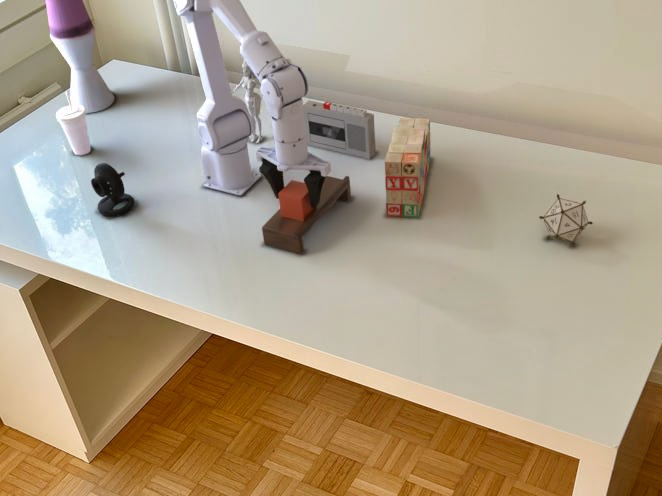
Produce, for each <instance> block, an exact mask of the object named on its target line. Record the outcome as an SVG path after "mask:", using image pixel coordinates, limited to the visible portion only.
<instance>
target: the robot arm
mask: <svg viewBox="0 0 662 496" xmlns="http://www.w3.org/2000/svg"><path fill="white" fill-rule="evenodd" d="M172 1H173V5H174V8H175V10H176V14H177V16H178V17H184V21H185V25H186V29H187V33H188V36H189V39H190V44H191V47H192V51H193V55H194V58H195V62H196V67H197V69H198V73H199V78H200V80H201V81H200V82H201V85H202V88H203V92H204V96H205V101H204V102H203V104H202V105H201V107H200V108H199V109H198V111H197V112H196V119H197V126H198V128H197V130H198V136H199V138H200V141H201V143H202V146H201V150H200V161H201V166H202V171H203V176H204V181H205V182H204V183H203V187H205V188H208V189H212V190H216V191H220V192H223V193H228V194H232V195H235V196H243V195H244V194H245V193H246V192H247V191H248V190H249V189H250V188H251V187H252V186H253V185H254V184H255V183H256V182H258V181H259V179H260V178H261V177H264V179H265V180H266V181H267V183H268V184H269V186H270V188H271V190H272V192H273V196H274V197H275V199H277V200H279V196H278V193H279V192H280V191H281V190H282V189H283V188H284V187H285V182H284V173H286V172H289V171H308V172H309V173H308V174H307V175H306V176H305V177H304V178H303V183H305V184H306V186H307V189H308V192H309V199H310V205H311V207H313V208H315V207H316V206H317V205H318V204H319V202H320V195H321V190H322V186H323V183H324V181H325V178H326V176H329V174H330V173H332V166H331V165H332V164H331V162H330V161H328V160H325V159H322V158H320V157H319V156H317V155H315V154H313V153H311V152H309V148H308V144H307V138H306V128H305V118H304V109H303V105H304V99H303V98H304V97H306V96H307V95H308V93H309V82H308V79H307V76H306V73H305V72H304V71H303V69H302V66H300V65H299V64H298V63H296V62H293V61H292V60H291V59H290V58H285V56H284V55H283V53H282V52H281V50H280V49H279V47H278V46H277V45H276V43H275V42H274V41H273V39H272V38H271V37H270V35H269V34H268V32H266V31H264V30H263V31H262V30H258V28H256V26H255V24H254V22H253V20H252V18H251V17H250V16H249V13H248V12H247V11H246V9H245V7H244V5H243V4H242V2H241V0H172ZM213 13H214V14H215V15H216V16H217V17H218V18H219V19H220V21H221V22H222V23H223V24H224V25H225V27H226V28H227V29H228V30H229V32H231V34H232V35H233V36H234V37H235V38H236V40H237V41H238V42H239V43H240V48H239V54H240V56H241V57H242V58H243V61H244V60H245V61H246V63H247V64H248V65H249V67H250V68H251V70H252V71H253V73H254V74H255V75H256V77H257V79H258V80H259V82H260V84H261V86H260V88H259V90H260V93H261V96H262V99H263V100H264V103H265V105H266V107H265V108H266V111H267V113H268V115H270V118H271V127H272V133H273V141H274V147H265V146H260V147H259V148H258V149H257V150H256V151H255V157H256V161H257V162H261V165H260V166H259V167H258V171H259V173H258V172H257V173H256V172H252V168H251V167H252V166H251V161H250V154H249V149H248V143H249V142H251V139H250V137H251V136H253V134H252V133H253V129H254V124H253V120H252V117H251V115H250V114H249V112H248V109H247V106H246V103H245V102H244V100H243V99H242V98H241V97H238V96H236V95H234V94H232V93H231V92H232V89H231V84H230V81H229V77H228V73H227V72H228V71H227V69H226V66H225V65H226V64H225V60H224V57H223V52H222V49H221V45H220V41H219V36H218V32H217V29H216V23H215V21H214V16H213Z"/></svg>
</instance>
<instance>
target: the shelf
mask: <svg viewBox="0 0 662 496" xmlns="http://www.w3.org/2000/svg"><path fill="white" fill-rule="evenodd" d="M351 191H352V190H351V178H350V176H349V175H346V176H344V177H343V178H339V177H333V176H329V175H327V176H326V178H325V181H324V183H323V186H322V190H321V195H320V202H319V204H318V205H317V208H316V209H315V210H314V211H313V212H312V213H311V214H310V215H309V217H308V218H307V219H306V220H305V221H304V222H302V221H298V220H295V219H291V218H287V217H283V216H281V211H280V208H279V209H278V210H277V211H276V212H275V213H274V214H273V215H272V216H271V217H270V218H269V219H268V220H267V221H266V222H265V223H264V224H263V225H262V226H261V231H262V237H263V245H265V246H267V247H271V248H276V249H280V250H283V251H287V252H290V253H293V254H298V255H302V254H303V253H304V252H305V250H304V249H305V248H304V240H303V239H304V236H306V234H308V233H309V231H310V230H311V229H312V228H313V227H314V226H315V225H316V224H317V222H319V220H320V219H321V218H322V217H323V216H324V215H325V214H326V213H327V211H329V210H330V208H331V207H332V206H333V205H334V204H335V202H337V200H340V201H346V202H349V201H350V200H351V199H352V195H351V194H352V193H351Z"/></svg>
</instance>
